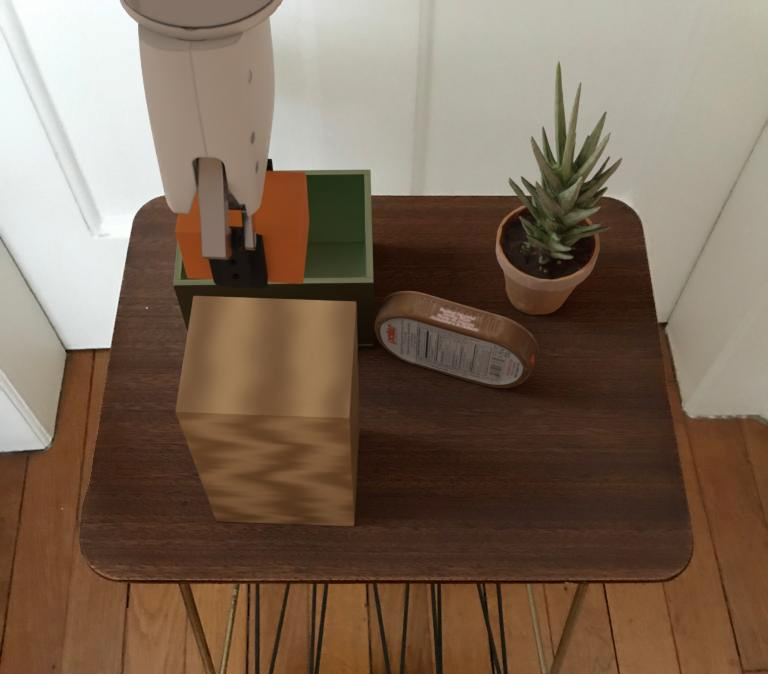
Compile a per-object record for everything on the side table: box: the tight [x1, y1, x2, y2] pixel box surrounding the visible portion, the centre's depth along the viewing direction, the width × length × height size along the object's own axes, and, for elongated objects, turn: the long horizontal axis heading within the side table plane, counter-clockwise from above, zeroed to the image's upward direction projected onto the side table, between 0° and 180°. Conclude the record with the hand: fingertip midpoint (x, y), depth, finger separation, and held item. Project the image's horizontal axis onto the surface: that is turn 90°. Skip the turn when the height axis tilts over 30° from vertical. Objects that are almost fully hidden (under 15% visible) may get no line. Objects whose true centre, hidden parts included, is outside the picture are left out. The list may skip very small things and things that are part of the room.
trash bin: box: [172, 169, 375, 349], centre depth 84 cm, size 13×17×10 cm
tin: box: [374, 290, 540, 389], centre depth 81 cm, size 15×3×8 cm, turn 71°
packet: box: [174, 170, 309, 284], centre depth 53 cm, size 7×5×4 cm
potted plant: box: [495, 60, 623, 316], centre depth 78 cm, size 10×10×25 cm
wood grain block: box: [174, 296, 361, 527], centre depth 72 cm, size 12×10×18 cm
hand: (246, 244), depth 55 cm, fingers closed on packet, 5 cm apart
